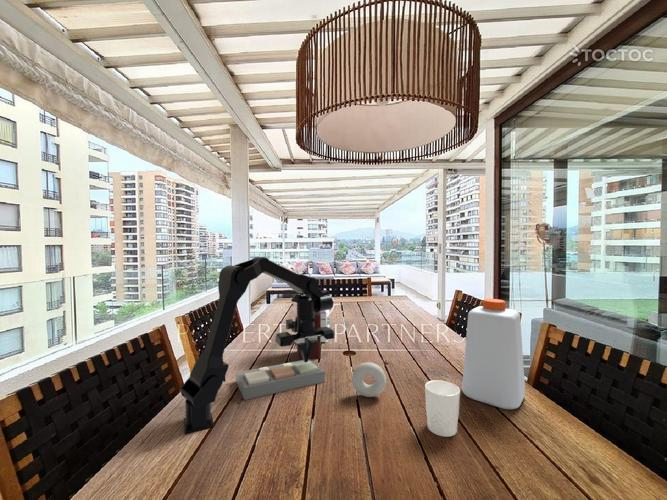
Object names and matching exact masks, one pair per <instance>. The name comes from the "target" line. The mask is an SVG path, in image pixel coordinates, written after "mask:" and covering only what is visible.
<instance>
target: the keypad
mask: <svg viewBox="0 0 667 500" xmlns="http://www.w3.org/2000/svg"><path fill="white" fill-rule="evenodd" d="M308 361H311V359H309V360H308ZM303 362H304V360H303V359H302V360H297V361H291V362H286V363H281V364H280V363H279V364H276V365H269V366H263V367H259V368H254V369H249V370H243V371H237V372H235V377H236V378H235V382H236V384H237V385H236V386H238V387H237V388H238V389H239V391H240V393H241V395H242V398H243V400H244V401H248V400H252V399H256V398H259V397H266V396H270V395H273V394H278V393H283V392H287V391H291V390H296V389H300V388H304V387H308V386H313V385H318V384H322V383H325V370H324V369H323V368H322V367H320V366H319V365H318V364H317V363H315V362H314V361H311V362H312V363H313V364H315V365H316V366H317V367H318V371H315V372H310V373H306V374H301V375H300V374H299V373H298V372H297V371H296V370H295V369H294V364H298V363H303ZM287 365H288V366H289V367H290V368H291V369H292V370H293V371H294V376H291V377H286V378H282V379H277V380H275V379H274V378H273V377H272V375H271V374H270V369H271V368H277V367H282V366H287ZM261 370H265V372H266V373H267V375H268V376H269V381H267V382H262V383H258V384H253V385H247V383H246V381H245V373H250V372H255V371H261Z"/></svg>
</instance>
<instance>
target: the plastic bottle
mask: <svg viewBox="0 0 667 500" xmlns="http://www.w3.org/2000/svg"><path fill="white" fill-rule="evenodd" d="M466 326H467V327H466V334H465V335H466V337H465V338H466V339H465V349H464V360H463V370H462V371H463V373H462V384H461V390H462V393H463V394H464V395H465V396H466V397H468V398H469V399H471V400H474V401H478V402H480V403H484V404H486V405H490V406H494V407H497V408H499V409H502V410H503V409H504V410H515V409H518V408H519V407H520V406H521V404H522V402H523V400H524V398H525V396H526V383H525V371H524V369H525V367H524V353H523V339H522V338H523V337H522V323H521V314H520V312H519V311H517V310H516V309H512V308H507V303H506V301H505V300H503V299H498V298H484V299H483V300H482V305H479V306H477V307H474V308H472V309H471V310H470V311H469V312H468V314H467V324H466Z"/></svg>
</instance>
